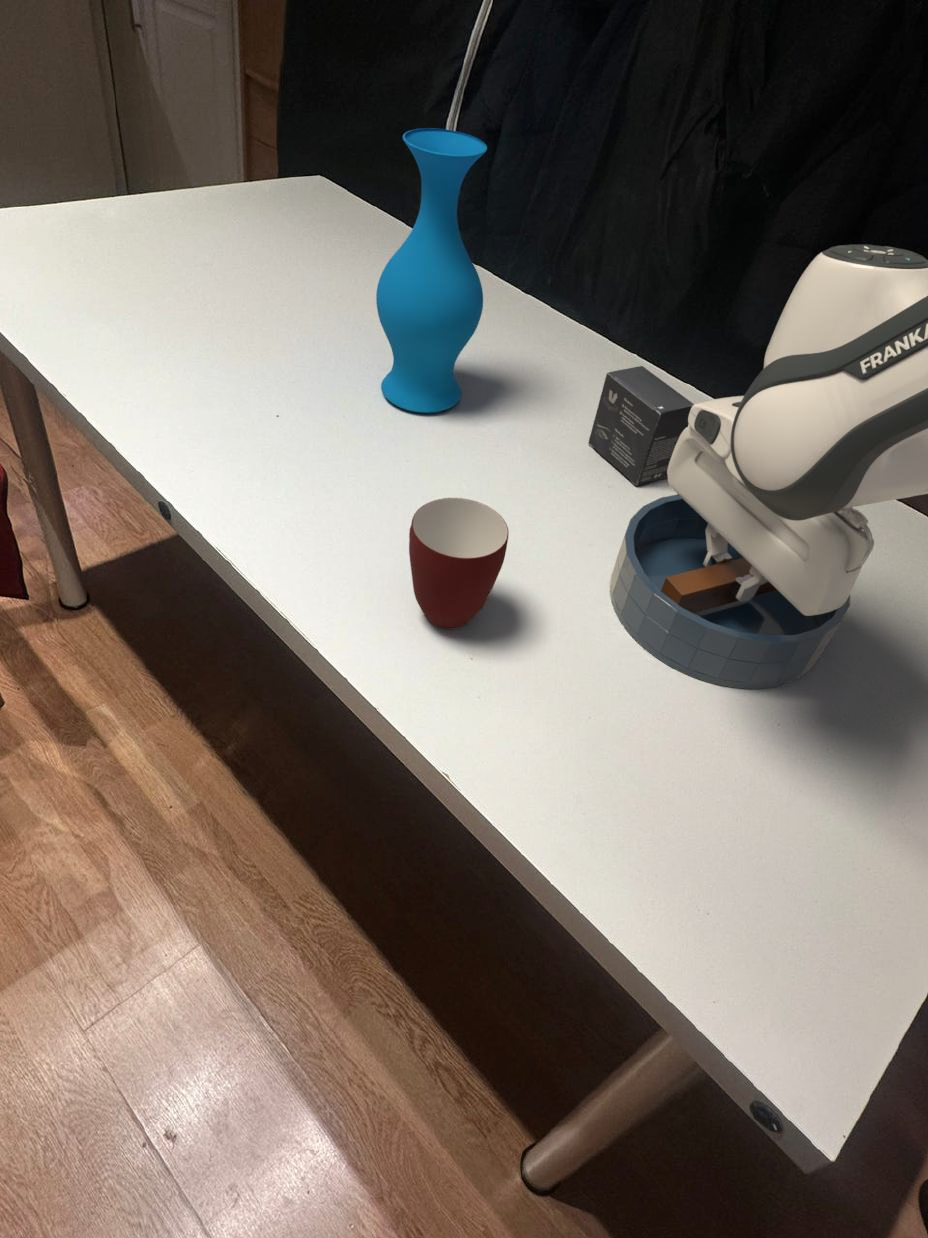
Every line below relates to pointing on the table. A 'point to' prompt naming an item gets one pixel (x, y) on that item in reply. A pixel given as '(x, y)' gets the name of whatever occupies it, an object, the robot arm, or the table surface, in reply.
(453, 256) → the vase
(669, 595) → the stick
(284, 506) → the table surface
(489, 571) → the mug
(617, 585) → the bowl
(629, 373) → the box
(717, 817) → the table surface
